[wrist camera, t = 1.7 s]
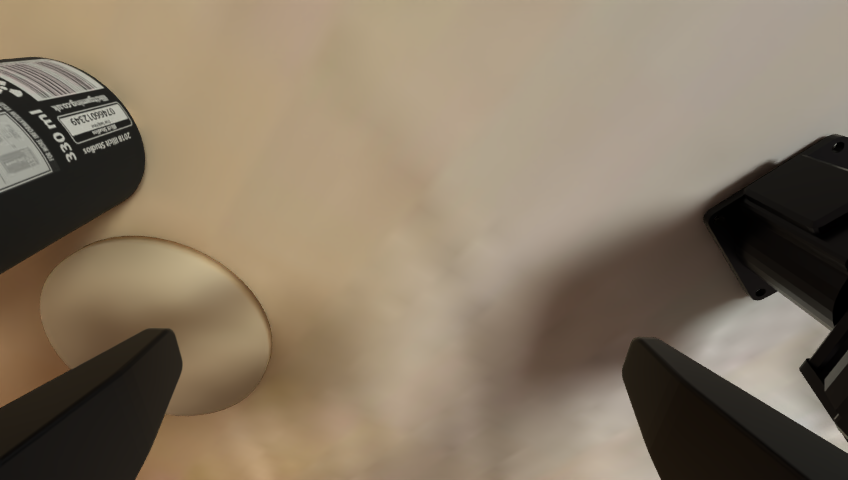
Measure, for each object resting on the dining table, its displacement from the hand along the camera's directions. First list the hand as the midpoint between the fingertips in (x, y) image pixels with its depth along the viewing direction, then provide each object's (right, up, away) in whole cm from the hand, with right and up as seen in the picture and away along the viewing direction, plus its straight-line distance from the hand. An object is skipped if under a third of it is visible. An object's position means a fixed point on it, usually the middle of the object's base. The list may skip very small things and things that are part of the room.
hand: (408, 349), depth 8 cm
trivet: (-14, -3, +16) cm, 22 cm away
